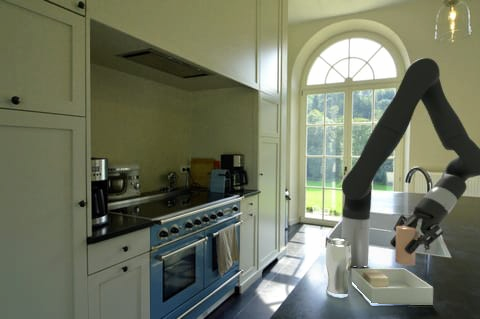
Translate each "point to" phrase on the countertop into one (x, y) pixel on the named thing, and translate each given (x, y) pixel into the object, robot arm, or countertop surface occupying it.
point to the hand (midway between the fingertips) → (400, 248)
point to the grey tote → (395, 287)
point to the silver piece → (338, 265)
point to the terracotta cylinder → (404, 245)
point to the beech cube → (375, 278)
